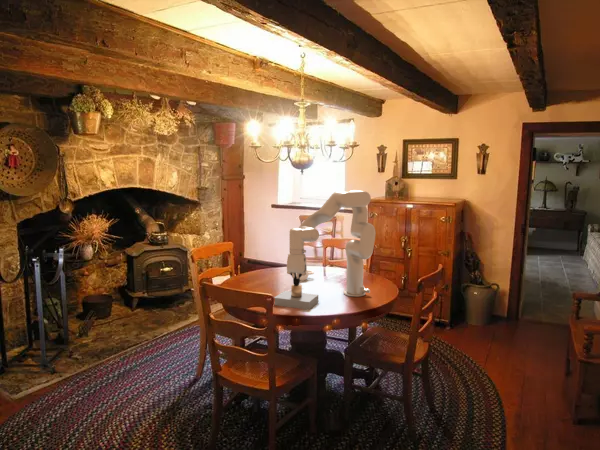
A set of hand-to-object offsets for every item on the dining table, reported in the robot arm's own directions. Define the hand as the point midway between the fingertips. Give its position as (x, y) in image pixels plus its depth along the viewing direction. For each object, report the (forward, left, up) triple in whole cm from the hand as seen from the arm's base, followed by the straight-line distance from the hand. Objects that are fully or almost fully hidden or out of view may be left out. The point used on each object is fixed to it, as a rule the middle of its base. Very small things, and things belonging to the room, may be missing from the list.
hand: (296, 285), depth 233 cm
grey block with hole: (0, 0, -10) cm, 10 cm away
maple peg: (0, 0, -9) cm, 9 cm away
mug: (+16, -52, -10) cm, 55 cm away
